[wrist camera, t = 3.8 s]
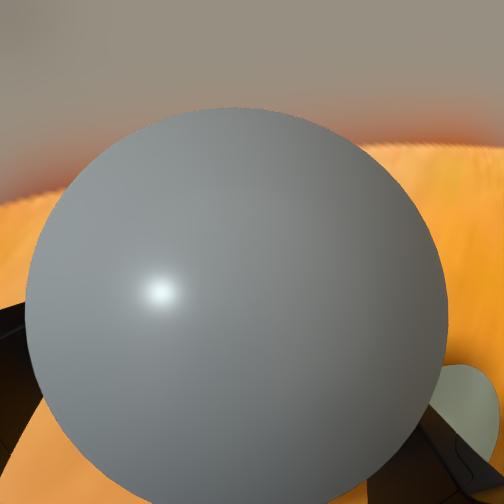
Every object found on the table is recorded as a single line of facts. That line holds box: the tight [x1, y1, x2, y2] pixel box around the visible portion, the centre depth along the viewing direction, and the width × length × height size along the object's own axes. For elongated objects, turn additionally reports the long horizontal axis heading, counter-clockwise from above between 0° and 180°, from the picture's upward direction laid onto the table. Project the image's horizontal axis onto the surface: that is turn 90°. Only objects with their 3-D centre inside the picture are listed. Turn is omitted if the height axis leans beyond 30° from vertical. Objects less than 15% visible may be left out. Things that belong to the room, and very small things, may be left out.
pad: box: [429, 364, 500, 462], centre depth 15 cm, size 11×11×1 cm
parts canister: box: [25, 108, 448, 504], centre depth 10 cm, size 5×5×14 cm
